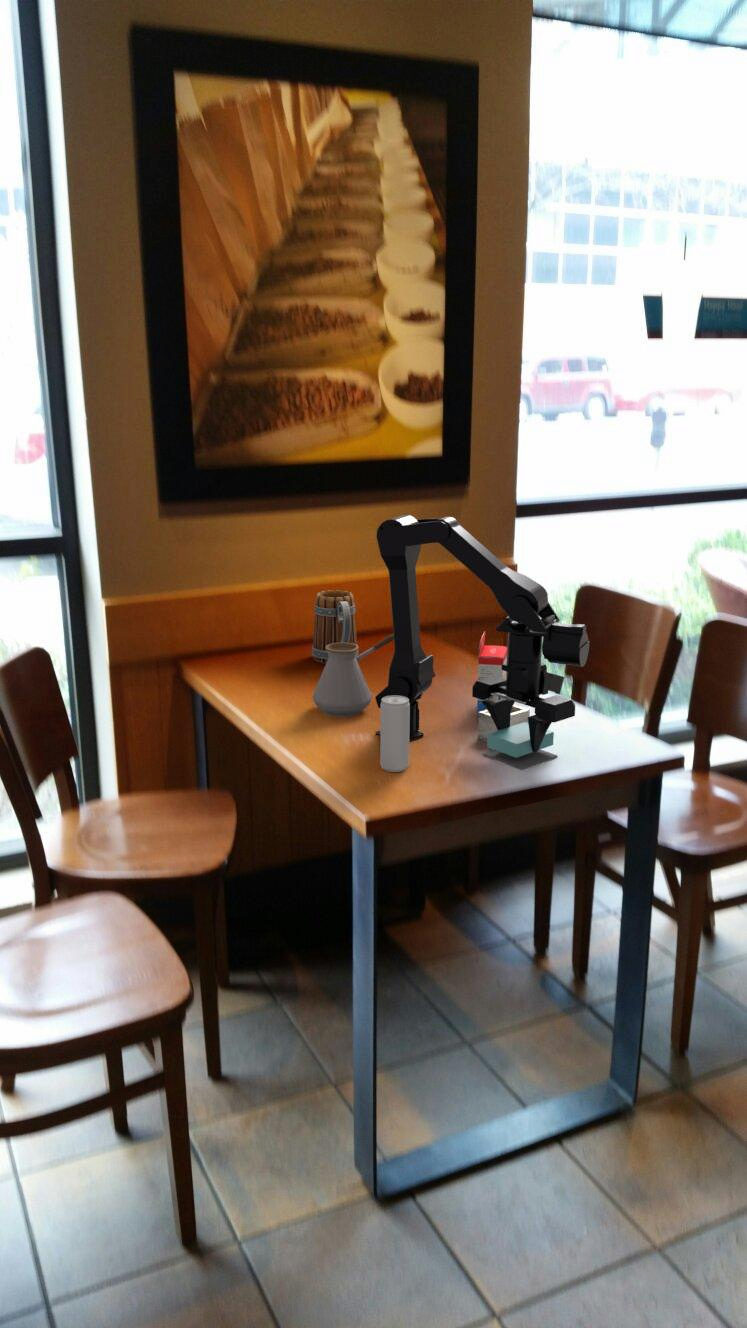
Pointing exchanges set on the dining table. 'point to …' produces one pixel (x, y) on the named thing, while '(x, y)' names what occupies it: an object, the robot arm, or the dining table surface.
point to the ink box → (490, 664)
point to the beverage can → (394, 733)
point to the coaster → (521, 758)
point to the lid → (516, 740)
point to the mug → (333, 622)
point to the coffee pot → (344, 680)
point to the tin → (488, 725)
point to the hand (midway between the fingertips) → (520, 746)
